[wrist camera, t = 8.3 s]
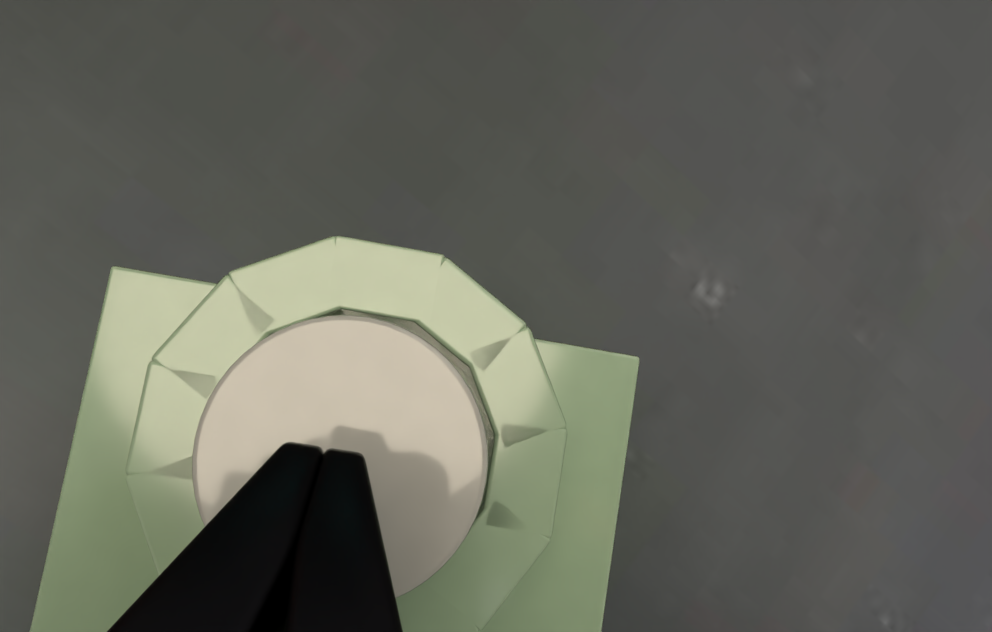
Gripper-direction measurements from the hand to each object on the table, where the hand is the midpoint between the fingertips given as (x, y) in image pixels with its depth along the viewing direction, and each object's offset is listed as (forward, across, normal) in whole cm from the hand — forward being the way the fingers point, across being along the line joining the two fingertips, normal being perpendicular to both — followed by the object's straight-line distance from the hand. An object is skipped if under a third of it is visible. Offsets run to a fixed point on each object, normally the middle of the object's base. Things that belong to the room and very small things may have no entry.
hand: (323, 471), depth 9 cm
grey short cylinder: (+3, 0, +4) cm, 5 cm away
